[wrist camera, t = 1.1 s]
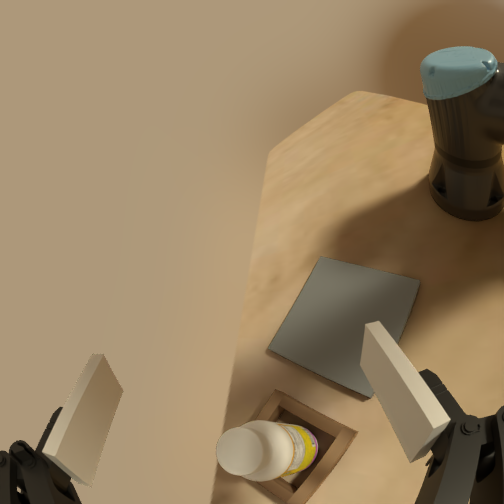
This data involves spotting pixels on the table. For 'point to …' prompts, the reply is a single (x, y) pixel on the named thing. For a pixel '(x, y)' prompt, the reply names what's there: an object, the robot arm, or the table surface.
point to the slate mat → (343, 319)
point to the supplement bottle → (266, 450)
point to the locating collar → (327, 463)
